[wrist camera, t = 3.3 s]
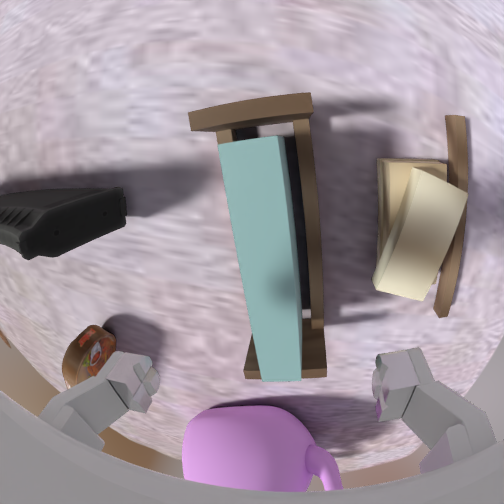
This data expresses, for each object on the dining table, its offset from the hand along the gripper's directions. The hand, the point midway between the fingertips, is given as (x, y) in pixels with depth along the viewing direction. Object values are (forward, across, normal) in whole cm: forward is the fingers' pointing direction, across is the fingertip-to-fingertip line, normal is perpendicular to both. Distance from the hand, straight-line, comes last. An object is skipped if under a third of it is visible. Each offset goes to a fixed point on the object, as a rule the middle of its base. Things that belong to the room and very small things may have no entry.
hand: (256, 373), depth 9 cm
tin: (+13, +24, +14) cm, 31 cm away
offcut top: (+11, -10, 0) cm, 15 cm away
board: (+13, 0, 0) cm, 13 cm away
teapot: (+14, +5, +28) cm, 31 cm away
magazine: (+13, +27, -7) cm, 31 cm away
